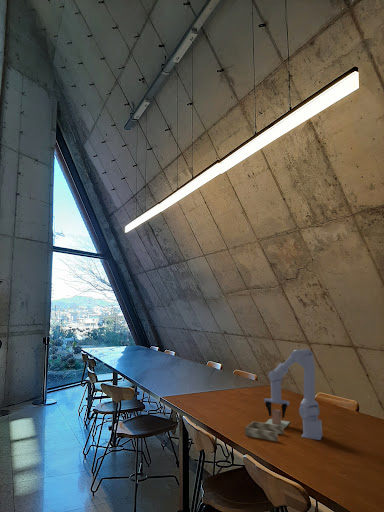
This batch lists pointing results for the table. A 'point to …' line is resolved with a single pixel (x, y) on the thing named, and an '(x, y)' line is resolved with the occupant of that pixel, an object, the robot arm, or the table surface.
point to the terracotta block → (276, 416)
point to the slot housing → (264, 430)
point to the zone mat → (283, 423)
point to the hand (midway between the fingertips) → (276, 416)
